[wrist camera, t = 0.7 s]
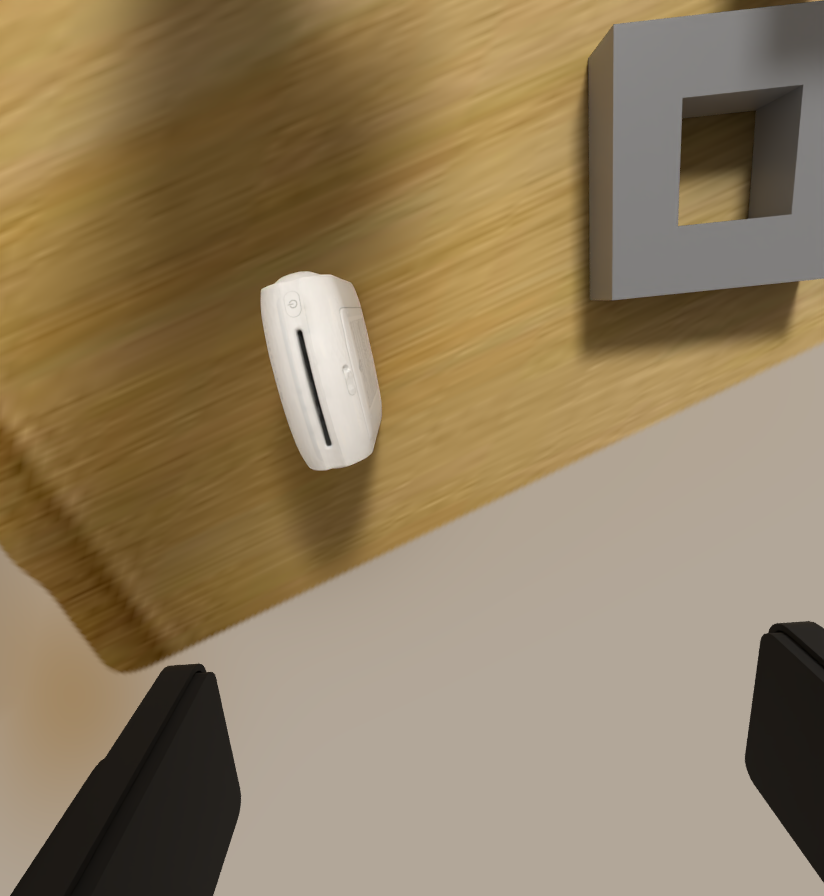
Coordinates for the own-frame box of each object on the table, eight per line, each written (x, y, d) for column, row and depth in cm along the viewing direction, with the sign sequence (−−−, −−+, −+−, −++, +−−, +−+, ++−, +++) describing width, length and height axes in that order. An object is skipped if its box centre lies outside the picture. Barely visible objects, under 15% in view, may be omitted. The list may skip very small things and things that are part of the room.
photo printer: (293, 285, 35) (233, 278, 23) (356, 272, 34) (328, 257, 23) (330, 432, 37) (294, 494, 26) (388, 420, 37) (379, 478, 25)
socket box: (588, 58, 31) (613, 24, 27) (824, 31, 31) (884, -7, 27) (589, 300, 35) (612, 300, 31) (800, 278, 35) (849, 275, 31)
